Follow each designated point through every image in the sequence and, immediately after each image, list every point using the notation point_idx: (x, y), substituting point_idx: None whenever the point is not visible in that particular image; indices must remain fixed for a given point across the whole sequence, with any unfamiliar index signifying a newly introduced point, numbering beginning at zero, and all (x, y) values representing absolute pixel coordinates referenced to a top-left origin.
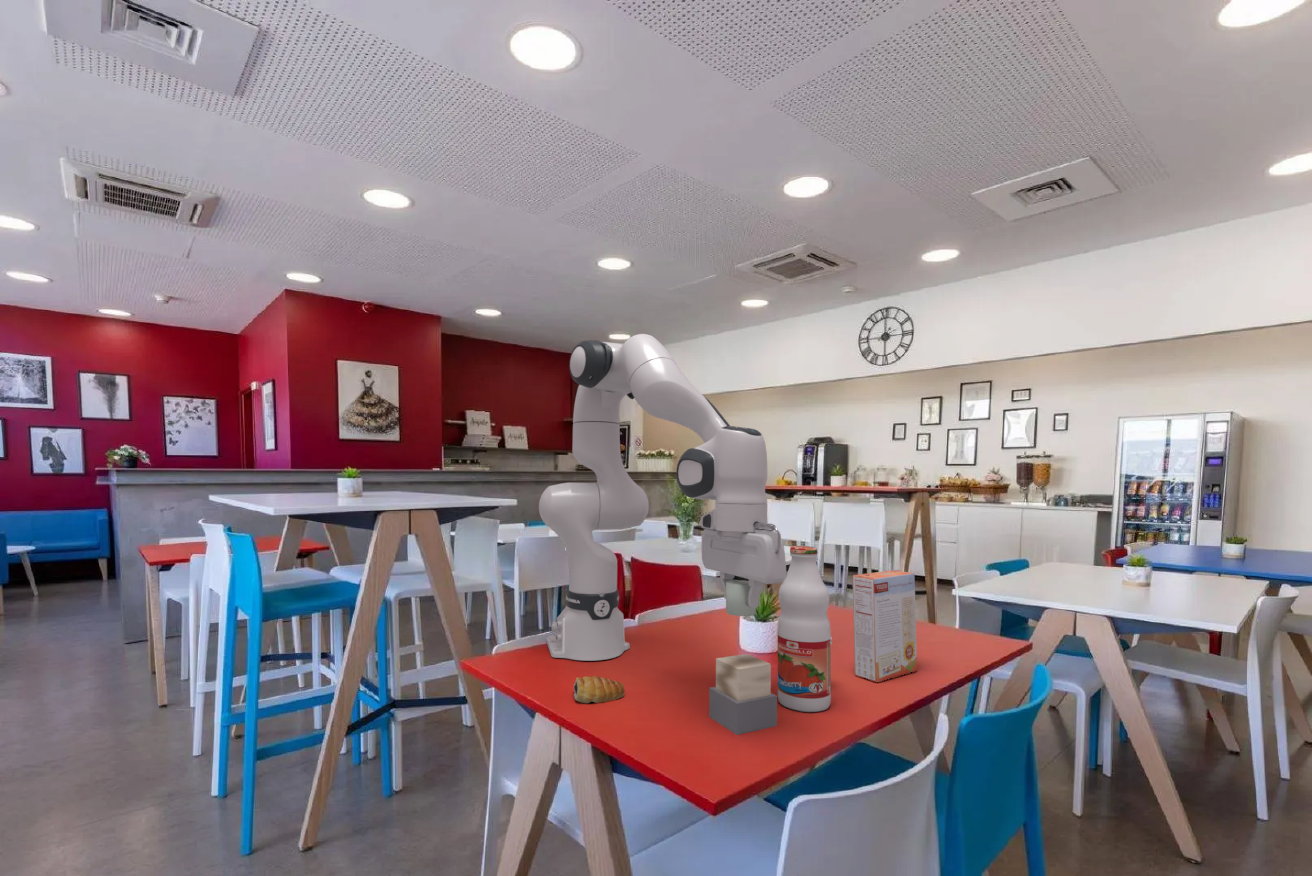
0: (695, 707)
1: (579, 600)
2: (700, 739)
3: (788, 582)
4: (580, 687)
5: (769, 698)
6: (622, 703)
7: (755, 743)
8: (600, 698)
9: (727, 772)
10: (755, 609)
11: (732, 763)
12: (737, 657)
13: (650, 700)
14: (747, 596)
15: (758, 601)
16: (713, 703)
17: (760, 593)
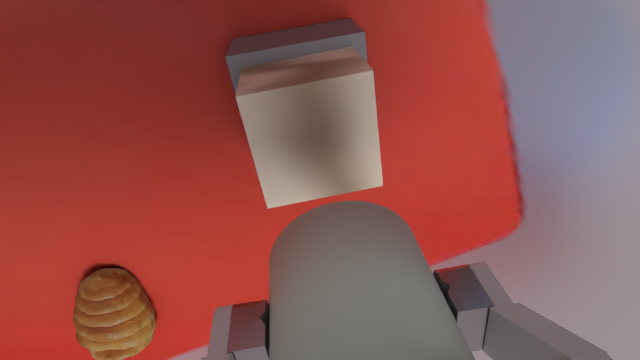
0: (199, 154)
1: None
2: (353, 192)
3: None
4: (140, 350)
5: (366, 58)
6: (158, 272)
7: (406, 107)
8: (151, 309)
9: (471, 190)
10: (405, 230)
11: (451, 174)
12: (273, 146)
13: (145, 227)
14: (475, 347)
15: (497, 282)
16: None
17: (537, 315)
